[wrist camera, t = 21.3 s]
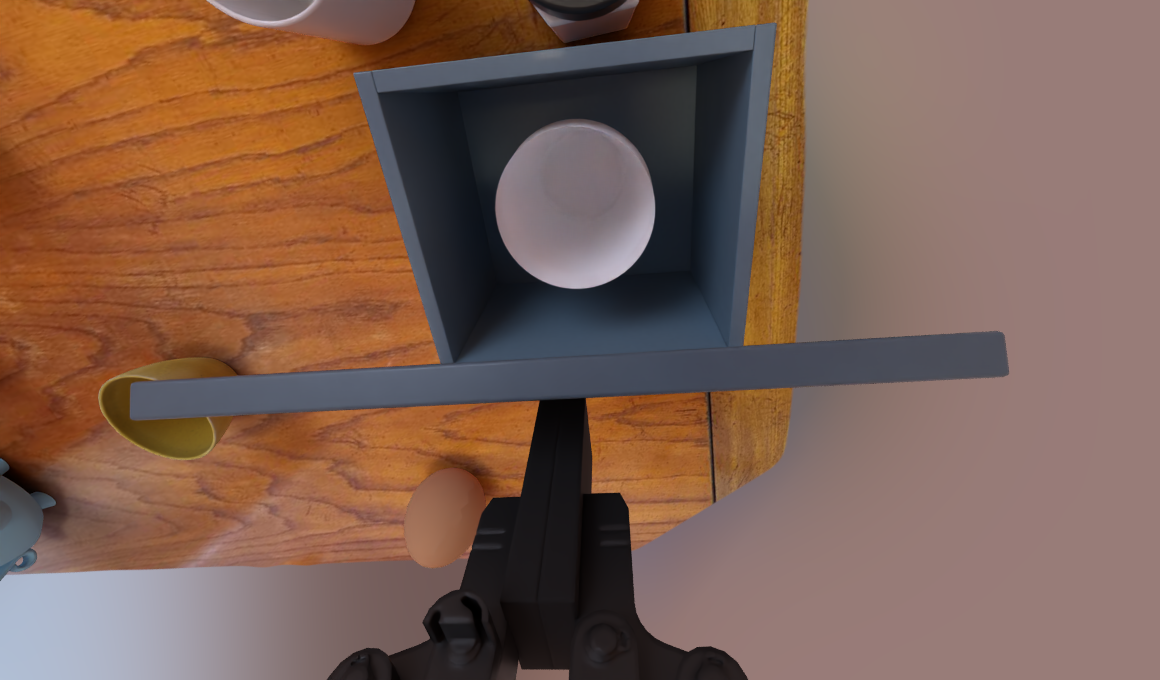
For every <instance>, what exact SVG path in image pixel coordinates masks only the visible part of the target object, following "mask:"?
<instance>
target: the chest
mask: <svg viewBox="0 0 1160 680" xmlns="http://www.w3.org/2000/svg"><path fill="white" fill-rule="evenodd" d="M776 26H777V24H776V23H767V24H758V25H749V26H741V27H733V28H724V29H716V30H708V31H699V32H691V33H682V34H674V35H666V36H657V37H649V38H641V39H632V40H624V41H616V42H607V43H599V44H590V45H582V46H574V47H565V48H557V49H549V50H540V51H532V52H524V53H515V54H507V55H499V56H490V57H482V58H473V59H465V60H457V61H448V62H440V63H432V64H423V65H415V66H407V67H398V68H390V69H381V70H373V71H365V72H357V73H354V78H355V81H356V84H357V88H358V91H359V94H360V98H361V101H362V104H363V107H364V111H365V114H366V117H367V121H368V124H369V127H370V131H371V134H372V137H373V141H374V144H375V147H376V151H377V154H378V157H379V161H380V164H381V167H382V170H383V174H384V177H385V180H386V184H387V187H388V190H389V194H390V197H391V200H392V204H393V207H394V210H395V214H396V217H397V220H398V223H399V227H400V230H401V233H402V237H403V240H404V243H405V247H406V250H407V253H408V257H409V260H410V263H411V267H412V270H413V273H414V277H415V280H416V283H417V286H418V290H419V293H420V296H421V300H422V303H423V306H424V310H425V313H426V316H427V320H428V323H429V326H430V330H431V333H432V336H433V340H434V343H435V346H436V349H437V353H438V356H439V359H440V363H441V364H444V363H461V362H478V361H495V360H512V359H529V358H547V357H564V356H581V355H598V354H615V353H632V352H649V351H666V350H683V349H700V348H717V347H734V346H743V344H744V334H745V325H746V315H747V305H748V296H749V286H750V277H751V267H752V257H753V248H754V238H755V228H756V219H757V209H758V200H759V190H760V180H761V171H762V161H763V152H764V142H765V132H766V123H767V113H768V103H769V94H770V84H771V75H772V65H773V55H774V46H775V36H776ZM566 119H587V120H593V121H597V122H600V123H603V124H605V125H608V126H610V127H612V128H614V129H615V130H617V131H618V132H620V133H621V134H623V135H624V136H625V137H626V138H627V139H628V140H629V141H630V142H631V143H632V144H633V145H634V146H635V147H636V148H637V150H638V151H639V153H640V154H641V156H642V157H643V159H644V161H645V163H646V165H647V168H648V170H649V173H650V177H651V181H652V186H653V193H654V199H655V219H654V225H653V230H652V233H651V236H650V239H649V241H648V243H647V245H646V247H645V249H644V251H643V252H642V254H641V255H640V257H639V258H638V259H637V261H636V262H635V263H634V264H633V265H632V266H631V267H630V268H629V269H628V270H627V271H625V272H624V273H623V274H621V275H620V276H619V277H617V278H615V279H613V280H611V281H609V282H607V283H605V284H602V285H599V286H595V287H590V288H582V289H570V288H563V287H558V286H554V285H551V284H548V283H546V282H544V281H541V280H540V279H538V278H536V277H534V276H533V275H531V274H530V273H528V272H527V271H526V270H525V269H523V268H522V267H521V266H520V265H519V264H518V263H517V261H516V260H515V259H514V258H513V257H512V255H511V254H510V253H509V251H508V249H507V248H506V246H505V244H504V242H503V240H502V237H501V235H500V232H499V229H498V225H497V219H496V210H495V203H496V193H497V188H498V184H499V181H500V178H501V175H502V173H503V171H504V169H505V167H506V165H507V164H508V162H509V161H510V159H511V158H512V156H513V155H514V153H515V152H516V150H517V149H518V148H519V146H520V145H521V144H522V143H523V142H524V141H525V140H526V139H527V138H528V137H529V136H530V135H532V134H533V133H534V132H536V131H537V130H539V129H541V128H542V127H544V126H546V125H549V124H551V123H554V122H557V121H561V120H566Z"/></svg>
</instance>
